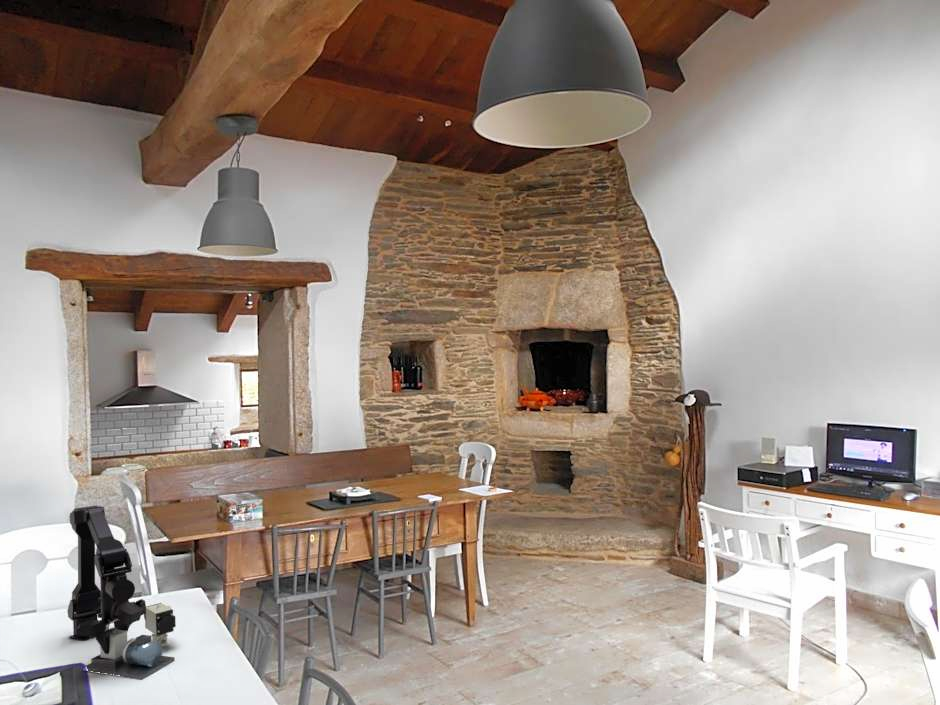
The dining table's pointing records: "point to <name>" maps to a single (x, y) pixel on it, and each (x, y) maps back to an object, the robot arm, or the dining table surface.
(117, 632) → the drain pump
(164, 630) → the pneumatic valve
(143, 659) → the motor mount
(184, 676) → the dining table surface
